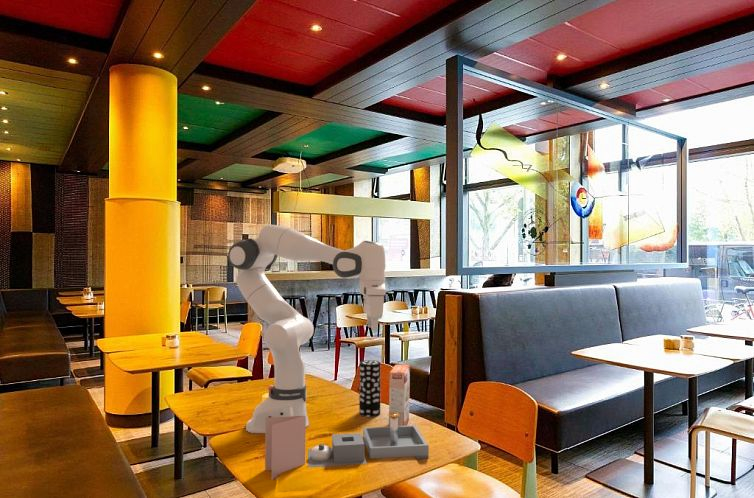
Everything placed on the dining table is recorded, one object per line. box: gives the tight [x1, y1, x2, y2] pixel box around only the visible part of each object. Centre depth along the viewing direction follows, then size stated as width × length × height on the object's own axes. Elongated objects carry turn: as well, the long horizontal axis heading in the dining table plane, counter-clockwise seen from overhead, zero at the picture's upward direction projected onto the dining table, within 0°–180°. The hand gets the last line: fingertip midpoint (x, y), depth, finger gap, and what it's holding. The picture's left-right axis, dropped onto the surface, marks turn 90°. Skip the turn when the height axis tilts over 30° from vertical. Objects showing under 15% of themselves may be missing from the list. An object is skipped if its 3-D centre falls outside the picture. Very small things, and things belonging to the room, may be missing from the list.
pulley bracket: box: [307, 432, 367, 468], centre depth 146 cm, size 17×13×6 cm
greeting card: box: [264, 416, 306, 480], centre depth 137 cm, size 11×7×15 cm, turn 100°
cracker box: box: [388, 364, 411, 426], centre depth 176 cm, size 14×6×21 cm, turn 168°
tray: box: [362, 424, 430, 460], centre depth 154 cm, size 18×18×4 cm
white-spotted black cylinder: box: [358, 359, 382, 418], centre depth 190 cm, size 8×8×20 cm
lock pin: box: [388, 412, 400, 446], centre depth 155 cm, size 4×4×10 cm
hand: (372, 329), depth 163 cm, fingers open, 8 cm apart
